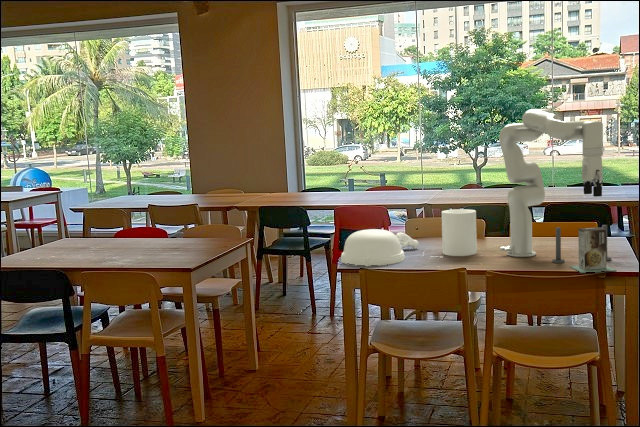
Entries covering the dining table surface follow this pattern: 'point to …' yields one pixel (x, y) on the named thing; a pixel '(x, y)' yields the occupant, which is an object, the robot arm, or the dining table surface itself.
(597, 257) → the coffee box
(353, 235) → the dome cover
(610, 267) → the green mat
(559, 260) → the post
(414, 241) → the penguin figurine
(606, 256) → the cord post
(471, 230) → the canister
